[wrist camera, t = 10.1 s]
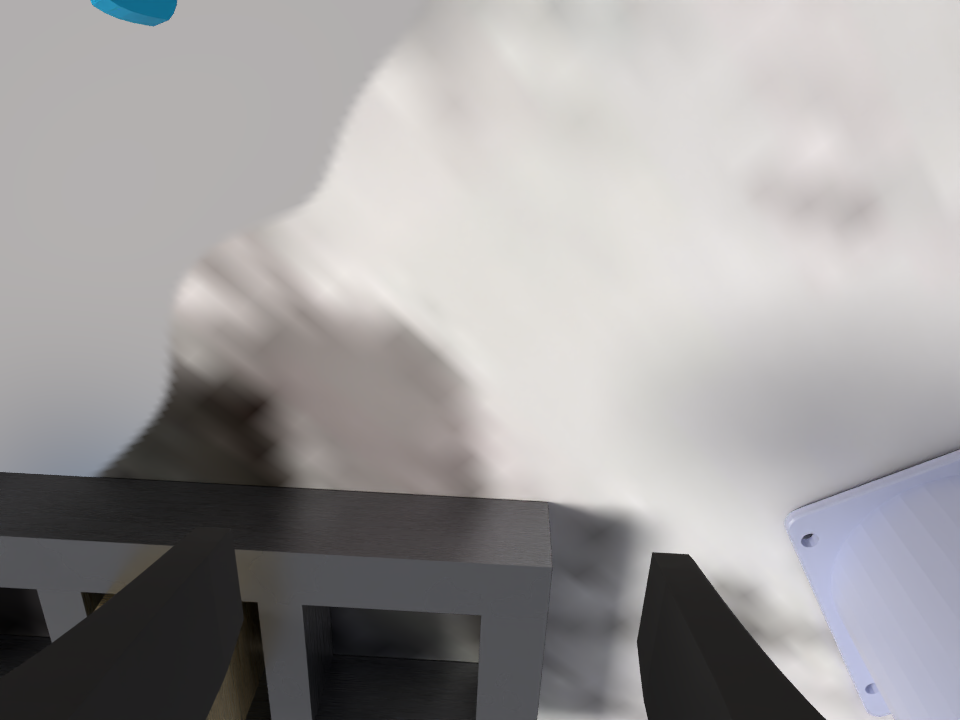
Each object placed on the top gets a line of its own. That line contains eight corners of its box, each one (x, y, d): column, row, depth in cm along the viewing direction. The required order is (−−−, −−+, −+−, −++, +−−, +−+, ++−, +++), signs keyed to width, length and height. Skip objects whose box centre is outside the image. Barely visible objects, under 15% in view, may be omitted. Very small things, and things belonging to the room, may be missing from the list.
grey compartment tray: (548, 502, 23) (552, 567, 21) (529, 704, 27) (530, 781, 25) (-142, 464, 24) (-225, 523, 21) (-64, 668, 28) (-127, 740, 25)
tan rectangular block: (267, 539, 25) (183, 723, 18) (279, 630, 26) (204, 827, 20) (147, 533, 25) (21, 714, 18) (166, 624, 26) (57, 819, 20)
